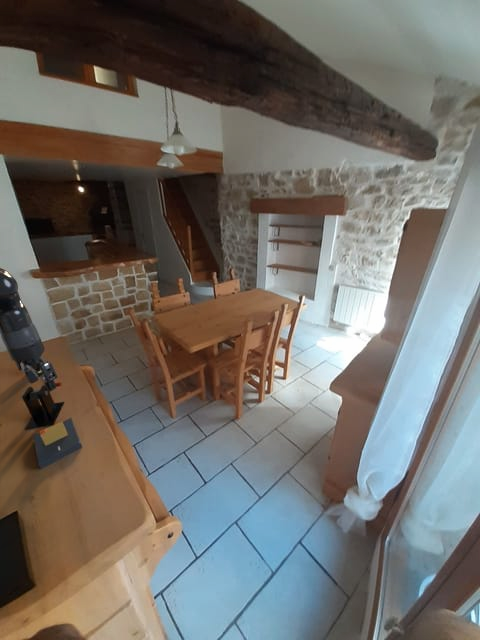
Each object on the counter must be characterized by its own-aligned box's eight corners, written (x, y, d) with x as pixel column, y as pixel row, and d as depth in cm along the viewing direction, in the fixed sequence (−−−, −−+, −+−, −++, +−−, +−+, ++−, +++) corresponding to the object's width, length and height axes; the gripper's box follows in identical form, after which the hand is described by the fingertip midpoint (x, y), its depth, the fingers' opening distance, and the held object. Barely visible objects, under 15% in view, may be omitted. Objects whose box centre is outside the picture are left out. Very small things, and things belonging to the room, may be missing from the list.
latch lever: (46, 388, 91) (45, 382, 91) (62, 386, 92) (61, 380, 92) (25, 401, 78) (24, 393, 78) (43, 398, 80) (42, 391, 79)
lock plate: (83, 449, 75) (80, 442, 73) (42, 471, 69) (38, 463, 67) (74, 424, 82) (71, 417, 81) (36, 441, 77) (32, 434, 75)
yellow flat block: (66, 431, 76) (61, 420, 74) (67, 435, 75) (62, 424, 73) (44, 442, 73) (39, 431, 71) (45, 446, 72) (39, 434, 70)
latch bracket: (39, 408, 88) (27, 382, 83) (65, 404, 90) (54, 378, 85) (26, 431, 80) (11, 404, 74) (54, 426, 81) (42, 399, 76)
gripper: (-9, 341, 69) (15, 386, 76) (23, 353, 64) (45, 401, 71) (22, 329, 75) (41, 372, 82) (53, 339, 70) (70, 384, 77)
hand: (43, 385), depth 77 cm, fingers open, 8 cm apart
